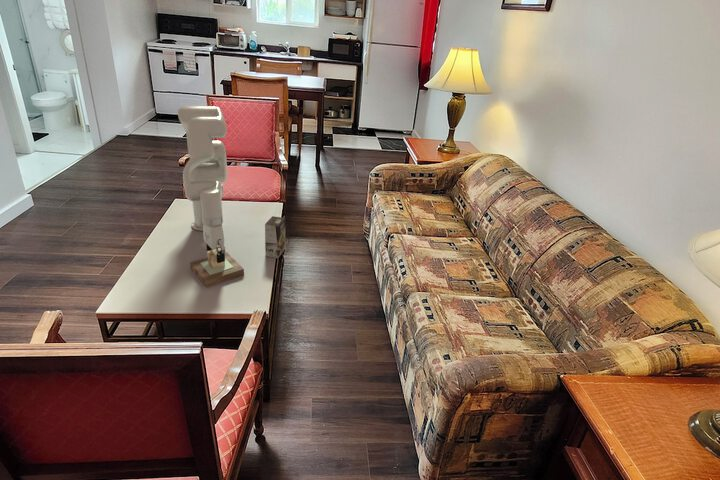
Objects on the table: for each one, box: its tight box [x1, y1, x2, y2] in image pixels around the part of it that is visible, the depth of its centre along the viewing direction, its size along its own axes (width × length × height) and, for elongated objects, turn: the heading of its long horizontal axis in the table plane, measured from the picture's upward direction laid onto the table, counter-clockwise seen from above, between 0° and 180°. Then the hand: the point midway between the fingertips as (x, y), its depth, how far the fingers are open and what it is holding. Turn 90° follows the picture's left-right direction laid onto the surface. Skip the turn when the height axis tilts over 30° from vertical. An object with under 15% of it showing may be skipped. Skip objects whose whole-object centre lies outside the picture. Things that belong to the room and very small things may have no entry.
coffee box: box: [264, 216, 286, 259], centre depth 191 cm, size 9×6×16 cm
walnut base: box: [189, 251, 245, 288], centre depth 176 cm, size 16×16×3 cm
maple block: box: [206, 248, 225, 269], centre depth 174 cm, size 5×5×6 cm
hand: (215, 256), depth 174 cm, fingers open, 9 cm apart
